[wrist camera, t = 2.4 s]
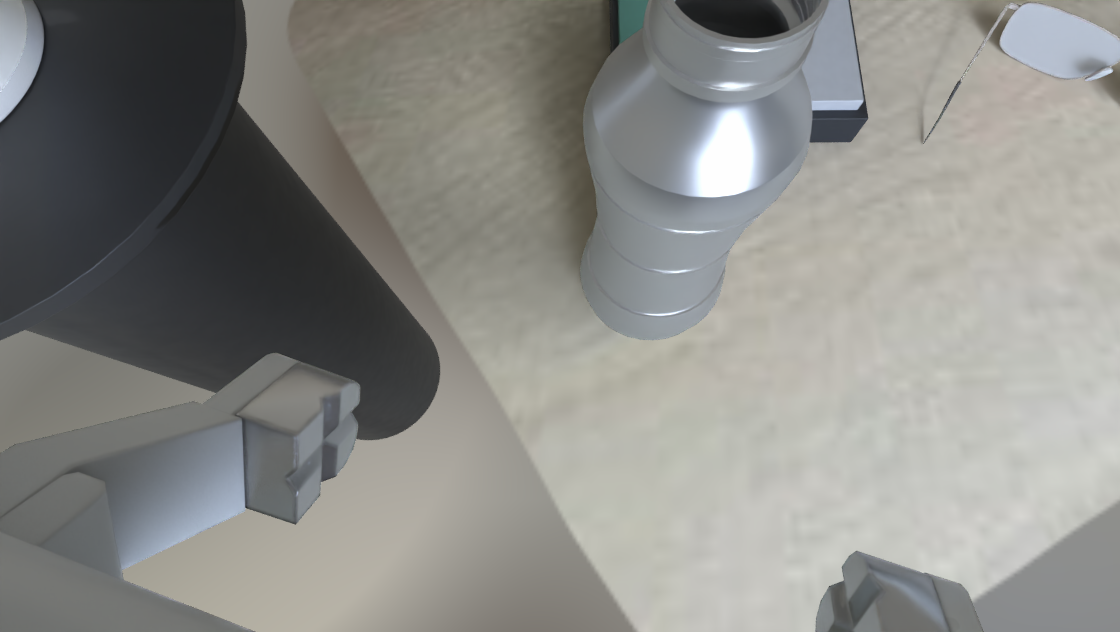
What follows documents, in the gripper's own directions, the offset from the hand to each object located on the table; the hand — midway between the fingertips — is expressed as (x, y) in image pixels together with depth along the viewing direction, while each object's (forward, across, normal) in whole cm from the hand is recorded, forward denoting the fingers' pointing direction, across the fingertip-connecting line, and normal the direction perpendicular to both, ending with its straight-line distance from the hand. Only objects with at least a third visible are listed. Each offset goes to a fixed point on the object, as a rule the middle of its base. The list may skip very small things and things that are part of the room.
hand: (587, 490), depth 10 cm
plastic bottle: (+22, 0, +7) cm, 23 cm away
